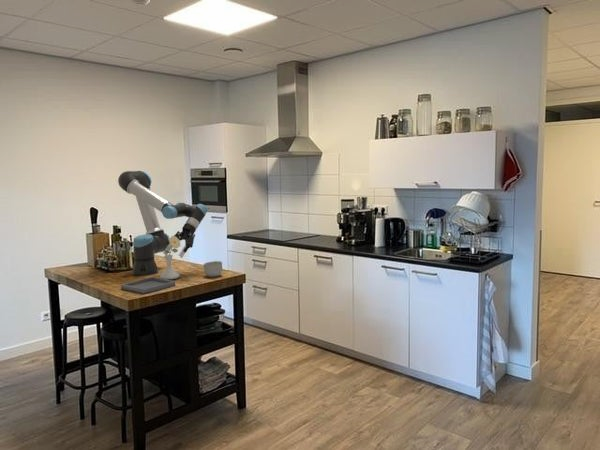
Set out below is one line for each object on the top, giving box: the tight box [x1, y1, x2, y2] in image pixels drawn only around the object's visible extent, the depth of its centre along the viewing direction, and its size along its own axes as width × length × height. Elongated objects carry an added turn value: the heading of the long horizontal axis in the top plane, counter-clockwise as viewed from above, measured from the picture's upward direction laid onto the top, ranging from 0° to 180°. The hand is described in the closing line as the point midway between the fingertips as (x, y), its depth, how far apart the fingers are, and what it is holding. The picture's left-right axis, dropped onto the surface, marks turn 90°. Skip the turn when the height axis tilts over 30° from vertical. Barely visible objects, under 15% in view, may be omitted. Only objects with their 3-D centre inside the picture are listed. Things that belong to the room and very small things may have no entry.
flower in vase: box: [159, 235, 182, 281], centre depth 267 cm, size 13×11×25 cm
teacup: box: [203, 260, 223, 278], centre depth 274 cm, size 14×11×8 cm
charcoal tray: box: [120, 276, 176, 295], centre depth 249 cm, size 20×20×2 cm
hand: (172, 255), depth 267 cm, fingers open, 13 cm apart
